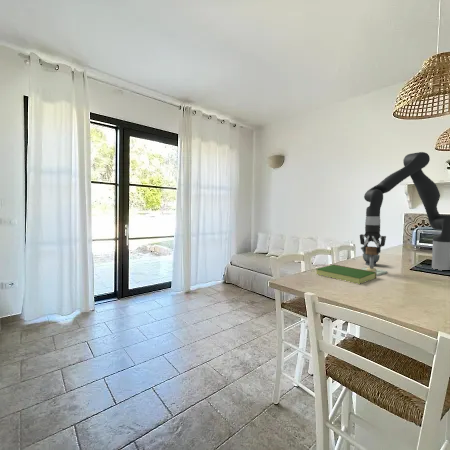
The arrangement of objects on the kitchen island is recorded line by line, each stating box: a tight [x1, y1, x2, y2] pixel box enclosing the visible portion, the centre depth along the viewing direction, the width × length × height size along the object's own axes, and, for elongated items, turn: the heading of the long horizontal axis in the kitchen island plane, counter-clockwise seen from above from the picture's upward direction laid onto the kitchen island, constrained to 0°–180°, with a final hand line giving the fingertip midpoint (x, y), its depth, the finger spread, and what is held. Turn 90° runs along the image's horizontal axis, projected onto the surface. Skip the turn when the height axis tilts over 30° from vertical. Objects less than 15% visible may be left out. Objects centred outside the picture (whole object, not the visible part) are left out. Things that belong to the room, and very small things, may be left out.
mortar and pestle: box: [360, 245, 381, 267], centre depth 167 cm, size 11×9×12 cm
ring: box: [366, 246, 379, 255], centre depth 146 cm, size 6×6×4 cm
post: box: [360, 255, 388, 277], centre depth 147 cm, size 12×12×11 cm
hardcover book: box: [315, 264, 377, 285], centre depth 139 cm, size 25×19×4 cm
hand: (371, 252), depth 147 cm, fingers closed on ring, 6 cm apart
